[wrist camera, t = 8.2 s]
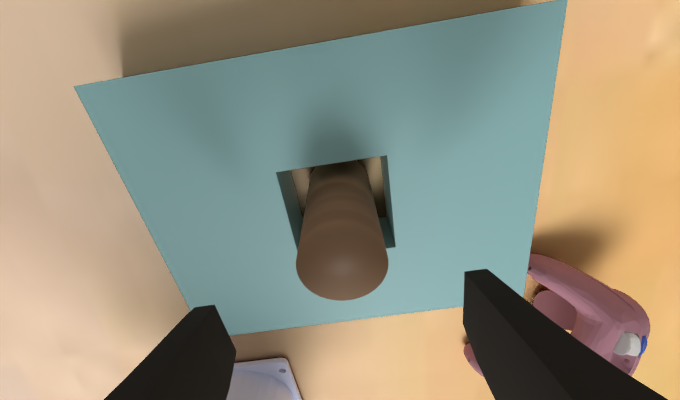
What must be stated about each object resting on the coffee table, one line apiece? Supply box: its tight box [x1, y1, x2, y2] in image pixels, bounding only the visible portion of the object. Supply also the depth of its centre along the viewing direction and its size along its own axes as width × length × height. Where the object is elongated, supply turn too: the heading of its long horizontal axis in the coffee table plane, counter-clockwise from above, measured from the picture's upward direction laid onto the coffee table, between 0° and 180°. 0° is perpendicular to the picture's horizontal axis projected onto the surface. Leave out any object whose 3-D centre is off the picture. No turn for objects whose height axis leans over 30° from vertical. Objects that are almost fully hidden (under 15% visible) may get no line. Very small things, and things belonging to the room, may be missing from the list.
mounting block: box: [74, 0, 567, 336], centre depth 16 cm, size 14×18×3 cm
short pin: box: [296, 160, 388, 301], centre depth 14 cm, size 3×3×7 cm
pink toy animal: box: [464, 253, 650, 377], centre depth 19 cm, size 10×5×7 cm, turn 166°
